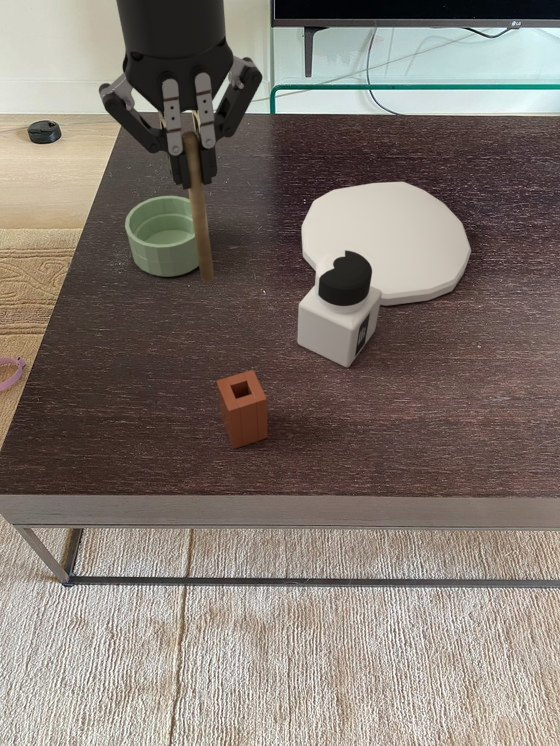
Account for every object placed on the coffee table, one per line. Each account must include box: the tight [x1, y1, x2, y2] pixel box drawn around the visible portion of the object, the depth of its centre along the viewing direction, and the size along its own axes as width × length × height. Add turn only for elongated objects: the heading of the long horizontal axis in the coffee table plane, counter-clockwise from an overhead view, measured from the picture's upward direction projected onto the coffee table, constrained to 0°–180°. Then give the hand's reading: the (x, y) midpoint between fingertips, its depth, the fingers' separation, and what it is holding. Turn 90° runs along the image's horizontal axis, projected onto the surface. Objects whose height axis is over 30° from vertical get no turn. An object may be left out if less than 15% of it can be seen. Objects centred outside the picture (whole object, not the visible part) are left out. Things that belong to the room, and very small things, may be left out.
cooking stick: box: [181, 129, 215, 283], centre depth 59 cm, size 1×1×17 cm
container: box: [296, 250, 382, 368], centre depth 77 cm, size 8×8×13 cm
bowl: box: [124, 195, 199, 278], centre depth 90 cm, size 11×11×6 cm
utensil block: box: [216, 369, 269, 450], centre depth 70 cm, size 4×4×8 cm
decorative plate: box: [300, 181, 472, 307], centre depth 91 cm, size 25×4×25 cm
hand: (194, 181), depth 56 cm, fingers closed on cooking stick, 1 cm apart
